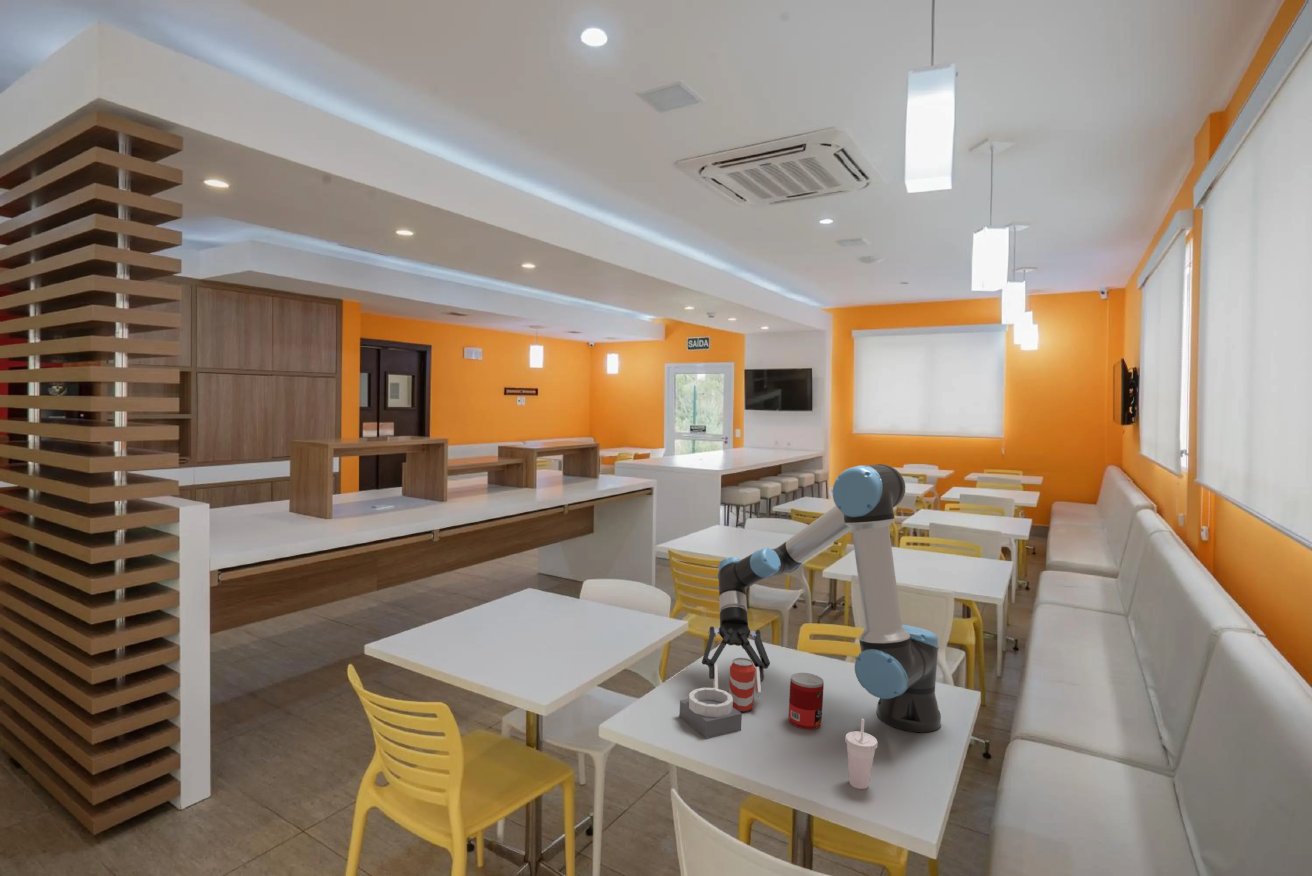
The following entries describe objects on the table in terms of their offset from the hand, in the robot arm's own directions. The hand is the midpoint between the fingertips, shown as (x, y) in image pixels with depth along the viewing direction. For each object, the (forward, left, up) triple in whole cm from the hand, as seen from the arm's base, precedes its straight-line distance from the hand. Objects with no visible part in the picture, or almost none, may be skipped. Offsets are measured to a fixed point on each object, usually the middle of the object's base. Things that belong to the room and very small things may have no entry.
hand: (737, 692), depth 171 cm
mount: (-3, +10, -5) cm, 11 cm away
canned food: (-12, -12, -5) cm, 18 cm away
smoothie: (-38, -4, -5) cm, 38 cm away
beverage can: (+1, -2, -5) cm, 5 cm away
